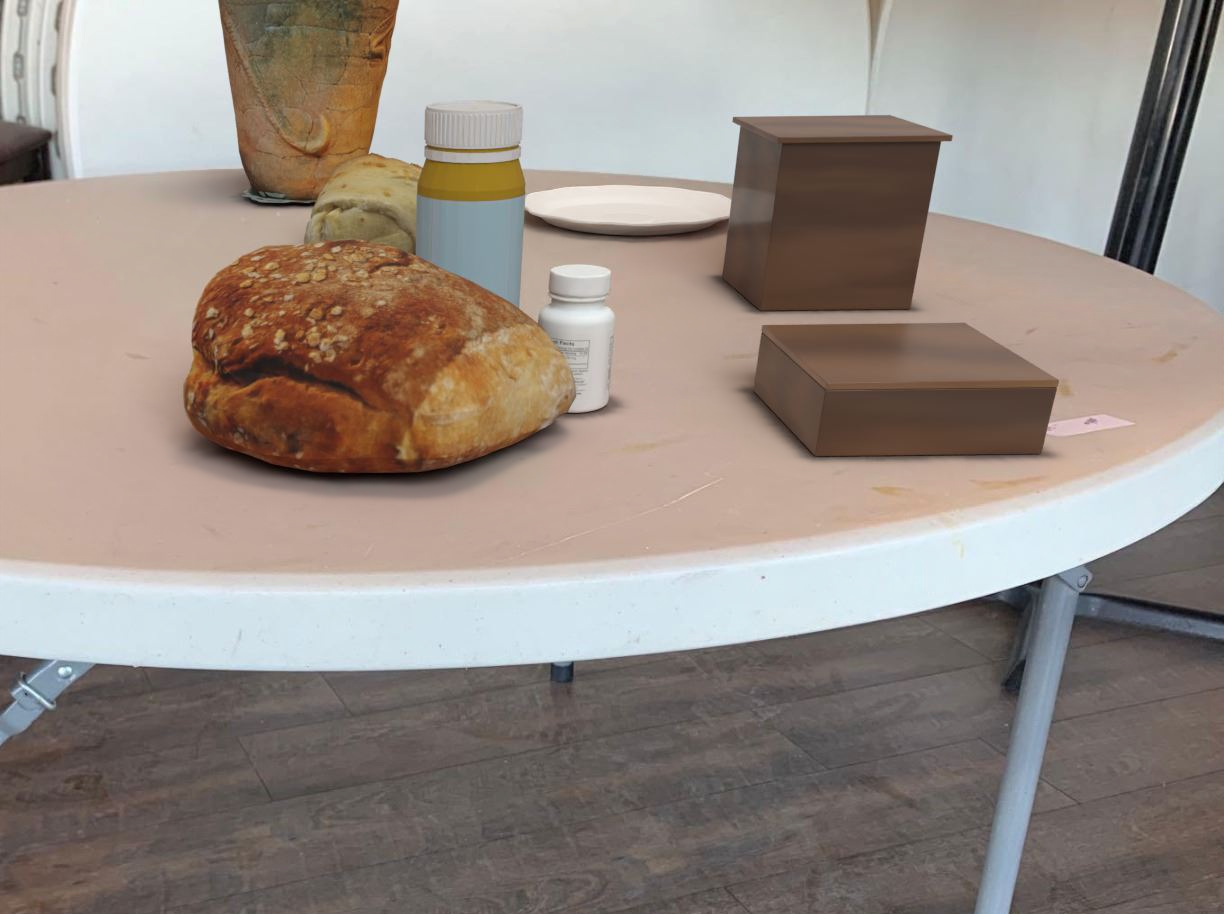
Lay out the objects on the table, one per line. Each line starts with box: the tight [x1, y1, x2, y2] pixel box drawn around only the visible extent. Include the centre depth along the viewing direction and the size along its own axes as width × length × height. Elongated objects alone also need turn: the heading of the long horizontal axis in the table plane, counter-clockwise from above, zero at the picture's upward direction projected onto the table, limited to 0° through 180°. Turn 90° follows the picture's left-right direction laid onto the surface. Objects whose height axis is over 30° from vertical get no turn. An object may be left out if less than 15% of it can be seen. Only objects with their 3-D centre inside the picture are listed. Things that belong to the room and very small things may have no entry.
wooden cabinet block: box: [721, 114, 954, 312], centre depth 104 cm, size 12×12×12 cm
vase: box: [217, 0, 400, 204], centre depth 141 cm, size 21×20×30 cm
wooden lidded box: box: [753, 322, 1060, 457], centre depth 78 cm, size 12×12×4 cm
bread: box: [182, 239, 576, 474], centre depth 76 cm, size 20×18×10 cm
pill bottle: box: [537, 263, 616, 414], centre depth 81 cm, size 4×4×8 cm
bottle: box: [416, 100, 526, 309], centre depth 92 cm, size 7×7×15 cm
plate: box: [525, 184, 732, 236], centre depth 134 cm, size 21×21×2 cm
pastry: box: [302, 152, 423, 255], centre depth 120 cm, size 14×12×8 cm
